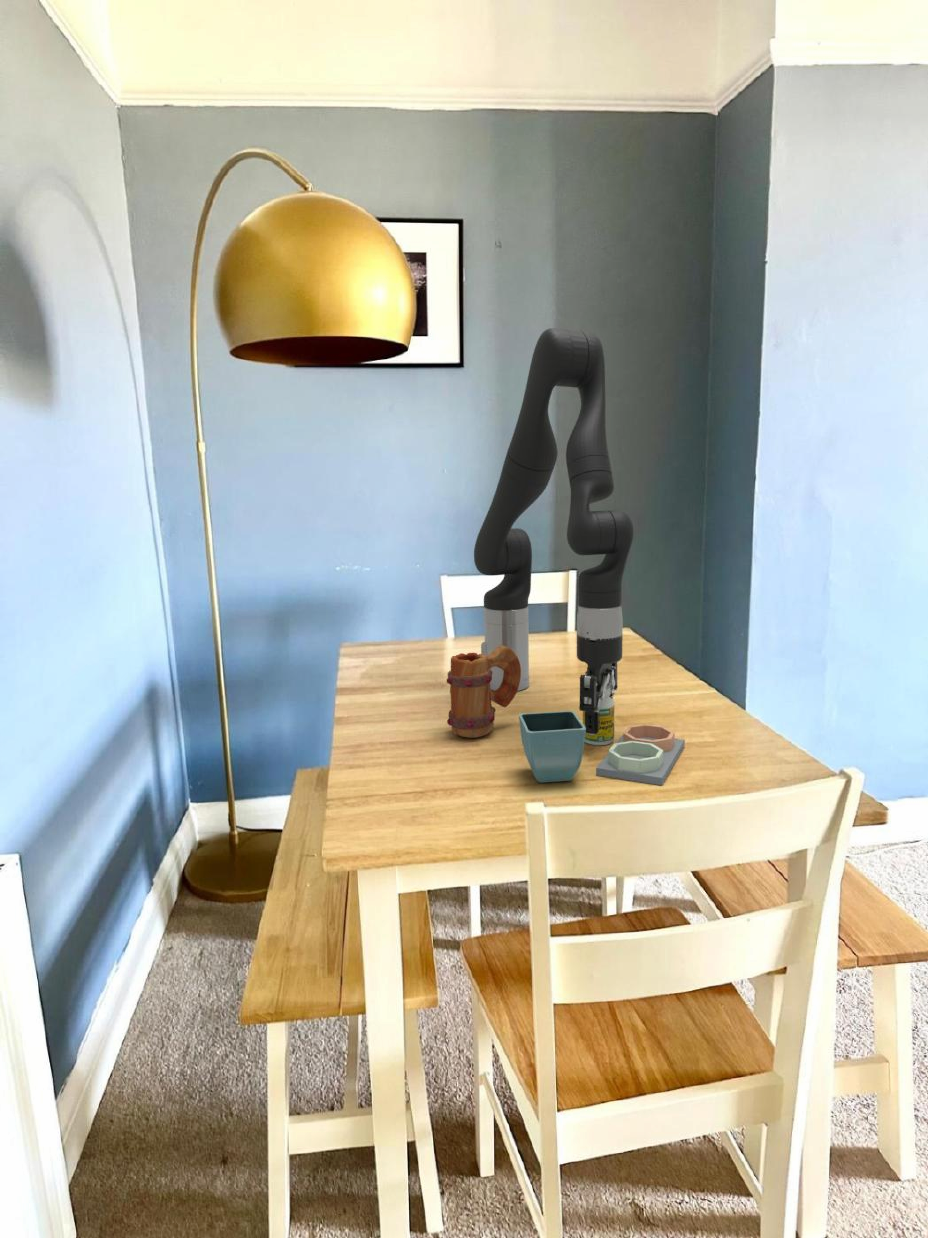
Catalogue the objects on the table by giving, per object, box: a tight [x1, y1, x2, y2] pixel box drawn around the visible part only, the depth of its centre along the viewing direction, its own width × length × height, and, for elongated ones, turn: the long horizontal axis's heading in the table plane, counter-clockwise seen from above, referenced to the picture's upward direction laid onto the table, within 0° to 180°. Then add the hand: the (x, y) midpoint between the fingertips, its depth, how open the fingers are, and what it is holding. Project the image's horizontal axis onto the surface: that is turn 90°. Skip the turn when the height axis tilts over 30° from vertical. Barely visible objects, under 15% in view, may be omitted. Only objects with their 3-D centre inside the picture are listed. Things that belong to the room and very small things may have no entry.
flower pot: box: [518, 710, 586, 784], centre depth 120 cm, size 9×9×9 cm
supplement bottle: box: [582, 685, 615, 746], centre depth 134 cm, size 5×5×10 cm
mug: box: [446, 645, 521, 739], centre depth 140 cm, size 15×8×15 cm, turn 118°
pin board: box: [595, 723, 686, 786], centre depth 126 cm, size 10×17×3 cm, turn 154°
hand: (599, 725), depth 135 cm, fingers open, 8 cm apart
